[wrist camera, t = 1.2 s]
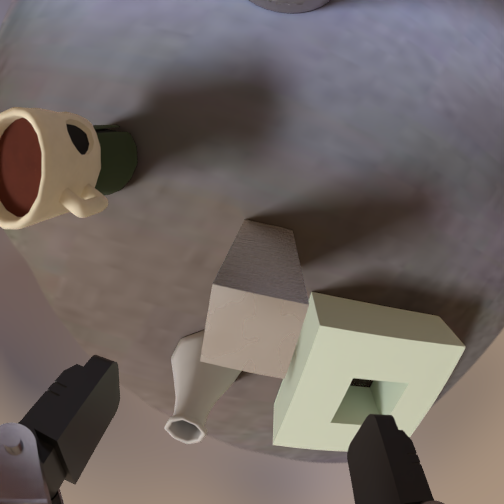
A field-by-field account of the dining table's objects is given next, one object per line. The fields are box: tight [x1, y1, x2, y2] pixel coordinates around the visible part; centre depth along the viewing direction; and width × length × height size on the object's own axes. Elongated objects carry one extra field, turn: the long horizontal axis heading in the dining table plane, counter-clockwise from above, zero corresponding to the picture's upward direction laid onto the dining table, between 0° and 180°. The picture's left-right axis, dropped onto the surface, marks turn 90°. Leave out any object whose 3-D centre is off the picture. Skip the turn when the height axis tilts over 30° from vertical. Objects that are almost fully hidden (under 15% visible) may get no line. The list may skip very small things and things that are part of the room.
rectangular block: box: [200, 219, 309, 379], centre depth 20 cm, size 4×4×14 cm
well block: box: [273, 292, 466, 451], centre depth 27 cm, size 14×14×6 cm
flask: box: [164, 330, 241, 444], centre depth 26 cm, size 7×7×10 cm
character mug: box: [0, 107, 137, 229], centre depth 19 cm, size 11×7×13 cm, turn 54°
